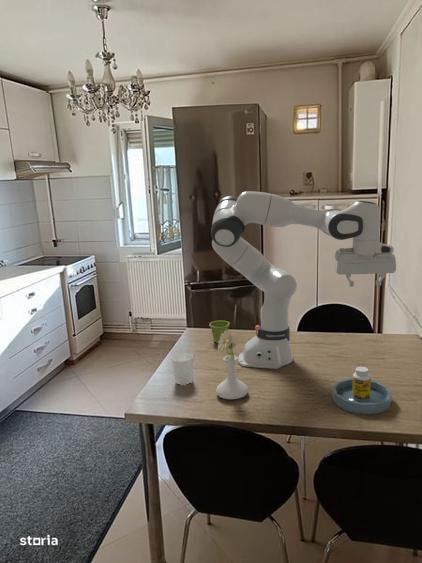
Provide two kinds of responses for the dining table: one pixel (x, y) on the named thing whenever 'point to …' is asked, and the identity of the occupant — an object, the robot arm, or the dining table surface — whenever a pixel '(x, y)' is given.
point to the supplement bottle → (361, 384)
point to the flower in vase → (230, 372)
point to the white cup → (183, 368)
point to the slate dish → (374, 405)
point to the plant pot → (218, 329)
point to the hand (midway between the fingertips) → (364, 285)
